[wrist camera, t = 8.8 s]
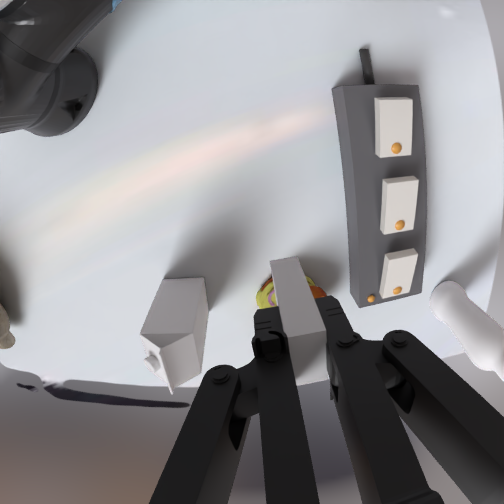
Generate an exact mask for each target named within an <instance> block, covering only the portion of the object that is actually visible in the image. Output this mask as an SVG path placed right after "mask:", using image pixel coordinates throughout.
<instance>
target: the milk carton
mask: <svg viewBox="0 0 504 504" xmlns="http://www.w3.org/2000/svg"><path fill="white" fill-rule="evenodd" d="M208 315H209V309H208V302H207V295H206V288H205V281H204V277H200V278H182V279H163V280H162V282H161V284H160V286H159V289H158V291H157V293H156V296H155V298H154V300H153V303H152V305H151V307H150V310H149V312H148V315H147V317H146V320H145V322H144V324H143V327H142V329H141V332H140V336H141V340H142V343H143V346H144V349H145V352H146V355H147V358H145V359H144V363H145V365H146V367H147V368H148V369H149V370H150V371H151V372H152V373H153V374H154V375H156V376H157V377H158V378H159V379H161V380H162V381H163V382H165V383H166V384H167V385H168V386H169V389H170V392H171V394H173V391H174V388H176V387H178V386H179V385H181V384H183V383H185V382H187V381H188V380H190V379H192V378H194V377H195V376H197V375H199V374H201V370H202V362H203V354H204V346H205V338H206V330H207V323H208Z"/></svg>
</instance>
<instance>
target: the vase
mask: <svg viewBox="0 0 504 504" xmlns="http://www.w3.org/2000/svg"><path fill="white" fill-rule="evenodd" d="M9 329H10V320H9V317H8V315H7V312H6V311H5V309H4V307H3V306H2V305H1V304H0V349H8V348H11V347H12V346H13V345H14V344H15V337H14V336H13V335H12V333H11V332H10V331H9Z"/></svg>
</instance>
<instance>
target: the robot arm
mask: <svg viewBox="0 0 504 504" xmlns="http://www.w3.org/2000/svg"><path fill="white" fill-rule="evenodd" d="M121 1H122V0H0V133H5V132H10V131H15V130H21V129H25V130H27V131H29V132H31V133H33V134H35V135H38V136H43V137H51V136H57V135H62V134H65V133H67V132H69V131H71V130H72V129H74V128H75V127H76V126H77V125H78V124H79V123H80V122H81V121H82V120H83V119H84V118H85V117H86V115H87V114H88V112H89V110H90V108H91V106H92V104H93V102H94V99H95V96H96V92H97V85H98V76H97V70H96V66H95V64H94V62H93V60H92V58H91V57H90V56H89V54H88V53H86V52H85V51H84V50H82V49H80V48H77V47H76V45H77V44H78V43H79V42H80V41H81V40H82V39H83V38H84V37H85V36H86V35H87V34H88V33H89V32H90V31H91V30H92V29H93V28H94V27H95V26H96V25H97V24H98V23H99V22H100V21H101V20H102V19H103V18H104V17H105V16H106V15H107V14H108V13H112V12H113V11H114V10H115V8H116V6H117V5H118V4H119V3H120V2H121ZM270 265H271V272H272V278H273V284H274V290H275V296H276V302H277V306H275V307H269V308H263V309H258V310H257V311H256V313H255V315H254V328H255V336H254V337H253V338H252V347H253V352H254V356H255V358H254V359H253V360H252V361H251V362H250V363H249V364H247V365H245V366H243V367H241V368H238V369H236V368H234V367H233V366H230V365H218V366H215V367H213V368H211V369H210V370H208V371H207V372H206V374H205V375H204V377H203V380H202V382H201V384H200V387H199V389H198V391H197V394H196V396H195V398H194V401H193V403H192V405H191V408H190V410H189V412H188V415H187V417H186V419H185V422H184V424H183V426H182V429H181V431H180V433H179V436H178V438H177V440H176V442H175V445H174V447H173V449H172V451H171V454H170V456H169V458H168V461H167V463H166V465H165V468H164V470H163V472H162V475H161V477H160V479H159V481H158V484H157V486H156V488H155V491H154V493H153V495H152V497H151V500H150V502H149V504H227V503H228V500H229V496H230V493H231V489H232V486H233V482H234V479H235V475H236V472H237V468H238V464H239V461H240V457H241V454H242V450H243V446H244V442H245V439H246V435H247V431H248V427H249V424H250V420H251V416H252V415H255V414H257V413H259V415H260V427H261V440H262V454H263V465H264V478H265V491H266V503H267V504H320V503H319V498H318V492H317V487H316V482H315V476H314V471H313V466H312V461H311V456H310V450H309V446H308V440H307V436H306V430H305V425H304V420H303V415H302V410H301V405H300V400H299V395H298V390H297V386H298V385H303V384H308V383H313V382H318V381H323V380H328V375H329V378H330V391H331V392H330V399H331V400H333V399H334V402H335V406H336V409H337V412H338V416H339V420H340V423H341V427H342V430H343V433H344V437H345V441H346V444H347V448H348V451H349V455H350V459H351V462H352V466H353V469H354V473H355V477H356V480H357V484H358V488H359V492H360V495H361V500H362V504H444V501H443V499H442V498H441V496H440V495H439V493H437V492H436V491H433V490H431V489H430V488H429V486H428V484H427V481H426V479H425V476H424V473H423V471H422V469H421V466H420V464H419V461H418V459H417V456H416V454H415V452H414V449H413V447H412V444H411V442H410V440H409V437H408V435H407V433H406V430H405V428H404V426H403V424H402V421H401V419H400V417H401V418H402V419H403V421H404V422H405V423H406V424H407V425H408V427H409V428H410V429H411V430H412V431H413V433H414V434H415V435H416V436H417V437H418V439H419V440H420V441H421V442H422V443H423V445H424V446H425V447H426V448H427V450H428V451H429V452H430V453H431V454H432V456H433V457H434V458H435V459H436V460H437V462H438V463H439V464H440V465H441V466H442V468H443V469H444V470H445V471H446V473H447V474H448V475H449V476H450V477H451V479H452V480H453V481H454V482H455V483H456V485H457V486H458V487H459V488H460V489H461V491H462V492H463V493H464V494H465V496H466V497H467V498H468V499H469V501H470V502H471V503H472V504H504V417H503V416H502V415H501V414H500V413H499V412H498V411H497V410H496V409H495V408H494V407H492V406H491V405H490V404H489V403H488V402H487V401H486V400H485V399H484V398H483V397H481V395H480V394H478V393H477V392H476V391H475V390H474V389H473V388H472V387H471V386H470V385H469V384H468V383H467V382H465V381H464V380H463V379H462V378H461V377H460V376H459V375H458V374H457V373H456V372H454V371H453V370H452V369H451V368H450V367H449V366H448V365H447V364H445V363H444V362H443V361H442V360H441V359H440V358H439V357H438V356H437V355H435V354H434V353H433V352H432V351H431V350H430V349H429V348H427V347H426V346H425V345H424V344H423V343H422V342H421V341H419V340H418V339H417V338H416V337H415V336H414V335H412V334H411V333H409V332H408V331H404V330H394V331H391V332H389V333H387V334H386V335H385V336H384V338H383V340H381V341H372V340H365V339H362V337H361V336H360V335H359V334H358V333H356V332H354V331H353V329H352V327H351V325H350V323H349V321H348V319H347V317H346V315H345V313H344V311H343V309H342V307H341V305H340V303H339V301H338V300H337V299H336V298H334V297H333V296H331V295H330V296H325V297H320V298H315V299H314V297H313V295H312V292H311V290H310V287H309V285H308V282H307V280H306V277H305V275H304V272H303V270H302V267H301V265H300V262H299V260H298V257H297V256H295V257H290V258H284V259H278V260H273V261H270ZM399 416H400V417H399Z"/></svg>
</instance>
